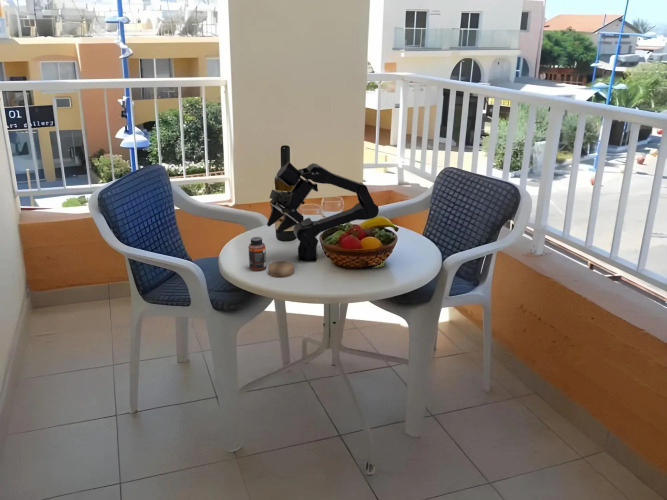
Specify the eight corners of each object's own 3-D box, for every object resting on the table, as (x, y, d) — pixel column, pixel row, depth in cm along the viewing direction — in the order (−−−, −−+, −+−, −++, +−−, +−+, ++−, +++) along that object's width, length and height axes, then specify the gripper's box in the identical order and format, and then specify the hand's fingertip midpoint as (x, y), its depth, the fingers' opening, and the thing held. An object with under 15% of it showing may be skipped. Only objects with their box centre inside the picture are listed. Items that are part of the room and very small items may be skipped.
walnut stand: (295, 267, 207) (295, 261, 206) (292, 277, 199) (292, 271, 198) (271, 267, 208) (270, 260, 207) (266, 277, 200) (266, 270, 199)
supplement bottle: (269, 268, 207) (268, 238, 203) (256, 272, 203) (254, 242, 199) (259, 263, 211) (258, 234, 207) (246, 268, 207) (244, 238, 204)
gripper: (272, 176, 210) (246, 210, 209) (292, 186, 194) (264, 224, 193) (294, 193, 216) (269, 227, 215) (315, 205, 200) (288, 241, 199)
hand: (272, 229), depth 206 cm, fingers open, 9 cm apart
